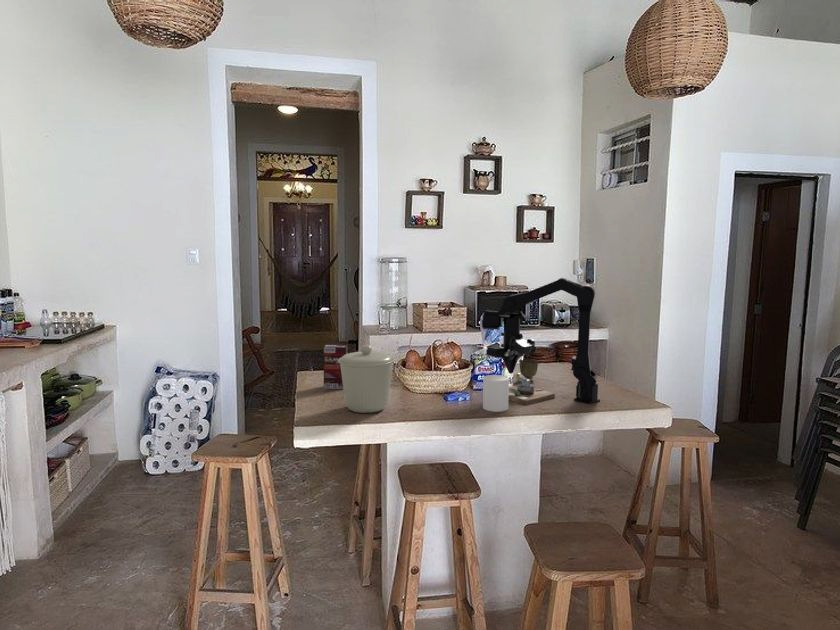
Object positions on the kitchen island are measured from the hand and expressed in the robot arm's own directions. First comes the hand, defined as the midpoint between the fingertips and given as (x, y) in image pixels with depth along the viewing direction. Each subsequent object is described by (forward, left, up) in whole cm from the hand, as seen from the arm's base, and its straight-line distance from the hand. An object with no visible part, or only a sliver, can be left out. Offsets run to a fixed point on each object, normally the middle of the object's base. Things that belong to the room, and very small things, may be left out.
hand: (510, 373), depth 198 cm
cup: (+10, -20, -8) cm, 24 cm away
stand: (-6, -1, -7) cm, 9 cm away
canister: (+15, +52, -8) cm, 54 cm away
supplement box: (+45, +47, -8) cm, 65 cm away
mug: (-8, +17, -8) cm, 20 cm away
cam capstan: (-4, -2, -5) cm, 7 cm away
